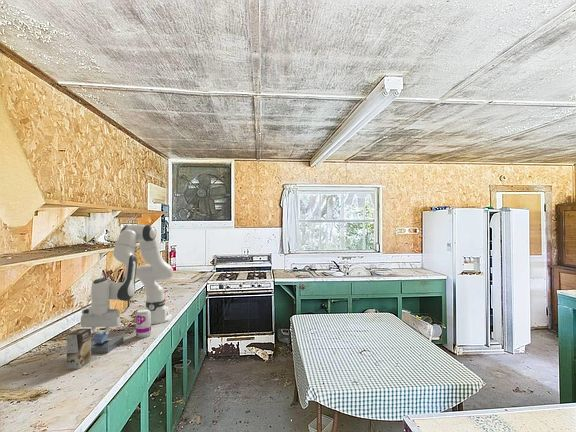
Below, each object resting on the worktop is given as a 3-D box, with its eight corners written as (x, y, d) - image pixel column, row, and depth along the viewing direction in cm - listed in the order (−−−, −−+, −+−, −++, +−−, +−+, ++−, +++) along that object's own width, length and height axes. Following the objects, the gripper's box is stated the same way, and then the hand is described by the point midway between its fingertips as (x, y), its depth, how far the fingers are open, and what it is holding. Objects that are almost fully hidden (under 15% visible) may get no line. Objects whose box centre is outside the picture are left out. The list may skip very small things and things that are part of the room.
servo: (102, 337, 187) (102, 327, 187) (109, 338, 187) (110, 328, 187) (92, 343, 178) (93, 333, 178) (99, 344, 178) (100, 333, 178)
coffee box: (79, 369, 158) (79, 334, 158) (66, 369, 158) (65, 334, 158) (91, 360, 167) (91, 328, 167) (79, 360, 167) (78, 328, 167)
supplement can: (145, 338, 197) (145, 312, 197) (133, 337, 199) (132, 312, 199) (153, 333, 205) (153, 309, 205) (141, 333, 207) (141, 308, 207)
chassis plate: (99, 342, 192) (99, 336, 193) (123, 342, 192) (123, 336, 192) (81, 353, 176) (81, 347, 177) (107, 353, 176) (107, 347, 176)
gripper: (122, 307, 185) (122, 332, 185) (85, 307, 186) (86, 333, 186) (116, 310, 179) (116, 336, 179) (78, 310, 180) (78, 336, 179)
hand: (100, 334), depth 182 cm, fingers closed on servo, 4 cm apart
